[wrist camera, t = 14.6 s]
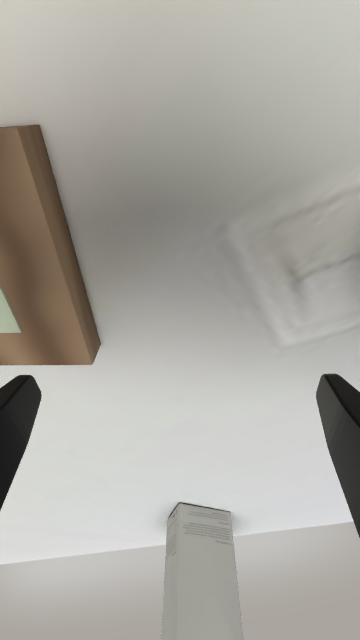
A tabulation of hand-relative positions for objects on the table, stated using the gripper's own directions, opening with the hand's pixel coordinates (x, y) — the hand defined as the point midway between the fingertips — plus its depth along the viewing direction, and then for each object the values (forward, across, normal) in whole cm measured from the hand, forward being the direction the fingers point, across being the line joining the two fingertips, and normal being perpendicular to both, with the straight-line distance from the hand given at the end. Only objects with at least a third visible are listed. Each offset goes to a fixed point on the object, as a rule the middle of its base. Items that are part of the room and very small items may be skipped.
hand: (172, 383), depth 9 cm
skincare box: (+13, 0, +43) cm, 45 cm away
